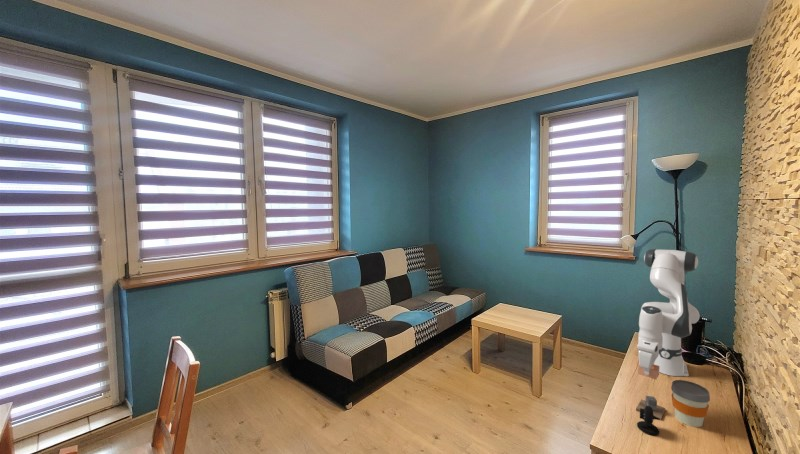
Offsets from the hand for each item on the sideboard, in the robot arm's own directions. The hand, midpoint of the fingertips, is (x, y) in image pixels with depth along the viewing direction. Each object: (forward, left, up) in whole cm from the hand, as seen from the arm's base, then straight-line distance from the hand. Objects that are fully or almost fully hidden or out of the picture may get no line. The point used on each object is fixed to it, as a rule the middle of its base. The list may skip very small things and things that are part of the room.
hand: (649, 370), depth 147 cm
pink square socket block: (0, 0, -2) cm, 2 cm away
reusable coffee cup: (-2, +14, -18) cm, 23 cm away
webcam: (+18, +4, -18) cm, 26 cm away
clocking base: (+2, +2, -18) cm, 18 cm away
